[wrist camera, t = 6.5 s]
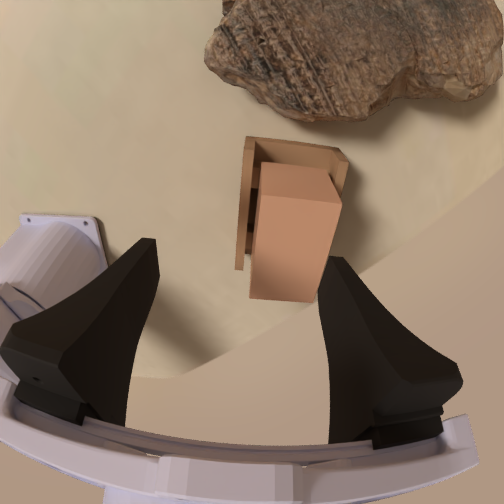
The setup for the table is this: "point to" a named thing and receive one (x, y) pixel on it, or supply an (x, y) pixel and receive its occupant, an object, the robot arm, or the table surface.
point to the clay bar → (292, 232)
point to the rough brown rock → (356, 53)
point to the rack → (282, 154)
